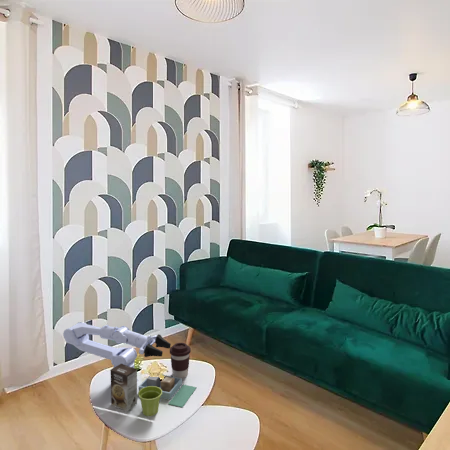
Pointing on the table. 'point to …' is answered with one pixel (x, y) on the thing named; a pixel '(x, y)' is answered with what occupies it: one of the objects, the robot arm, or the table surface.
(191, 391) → the mat
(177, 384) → the bin
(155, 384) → the plain block
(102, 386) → the table surface
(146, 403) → the plant pot
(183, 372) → the coffee cup
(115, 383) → the coffee box
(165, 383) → the labelled block
